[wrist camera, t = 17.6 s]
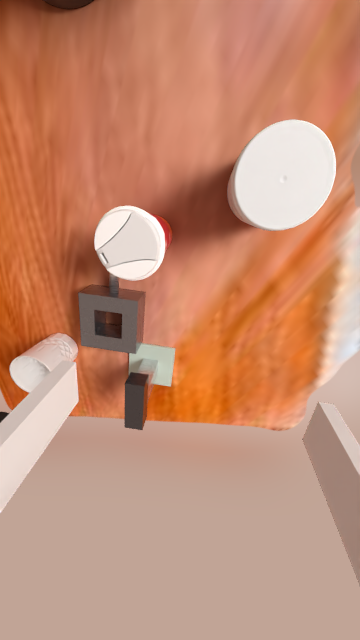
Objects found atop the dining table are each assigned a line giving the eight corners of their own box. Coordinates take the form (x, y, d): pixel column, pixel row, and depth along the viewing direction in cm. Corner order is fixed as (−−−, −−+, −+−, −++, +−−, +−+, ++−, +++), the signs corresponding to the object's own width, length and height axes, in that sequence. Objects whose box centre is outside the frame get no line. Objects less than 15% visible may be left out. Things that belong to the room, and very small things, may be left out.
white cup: (59, 322, 50) (24, 347, 41) (88, 349, 52) (62, 379, 43) (37, 344, 53) (1, 372, 44) (66, 369, 55) (37, 401, 46)
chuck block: (89, 238, 43) (75, 242, 38) (147, 246, 42) (140, 250, 38) (93, 333, 50) (81, 345, 46) (142, 340, 50) (135, 354, 45)
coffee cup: (144, 268, 44) (114, 294, 30) (120, 222, 41) (75, 228, 28) (188, 246, 42) (177, 264, 28) (165, 196, 39) (140, 189, 25)
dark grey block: (144, 345, 49) (125, 383, 38) (159, 347, 49) (144, 386, 38) (142, 382, 53) (124, 427, 42) (156, 384, 53) (142, 430, 42)
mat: (130, 341, 50) (129, 342, 50) (175, 348, 49) (175, 349, 49) (129, 378, 54) (128, 379, 53) (171, 385, 53) (170, 386, 53)
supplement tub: (306, 165, 35) (363, 137, 22) (275, 233, 39) (308, 245, 26) (240, 142, 35) (258, 100, 22) (216, 213, 39) (218, 214, 26)
